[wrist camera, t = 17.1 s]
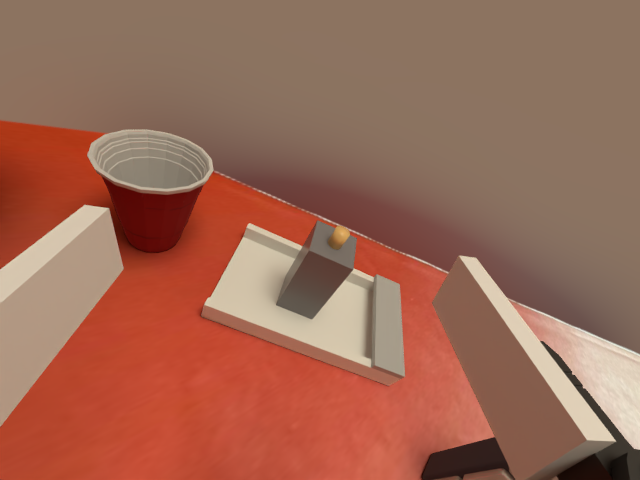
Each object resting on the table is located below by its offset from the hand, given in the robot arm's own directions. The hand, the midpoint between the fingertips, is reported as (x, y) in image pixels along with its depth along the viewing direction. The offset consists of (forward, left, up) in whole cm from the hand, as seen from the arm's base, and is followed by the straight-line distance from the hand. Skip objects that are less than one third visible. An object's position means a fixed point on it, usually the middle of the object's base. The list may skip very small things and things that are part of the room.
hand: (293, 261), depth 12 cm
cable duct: (+7, +16, -23) cm, 29 cm away
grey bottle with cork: (+5, +16, -23) cm, 28 cm away
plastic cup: (-15, +17, -24) cm, 32 cm away
